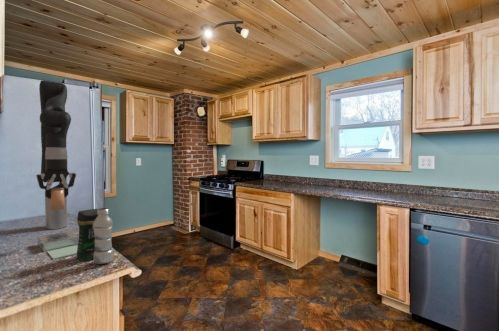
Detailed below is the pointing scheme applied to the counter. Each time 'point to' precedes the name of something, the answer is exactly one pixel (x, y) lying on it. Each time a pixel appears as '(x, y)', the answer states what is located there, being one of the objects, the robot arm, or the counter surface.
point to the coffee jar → (86, 234)
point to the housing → (57, 241)
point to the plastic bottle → (103, 237)
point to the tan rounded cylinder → (57, 198)
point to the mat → (63, 252)
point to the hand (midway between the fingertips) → (57, 197)
